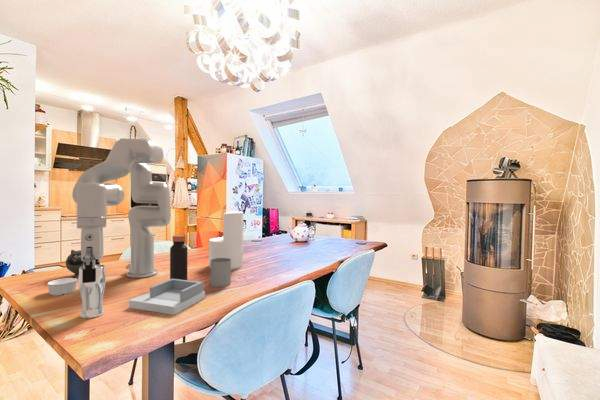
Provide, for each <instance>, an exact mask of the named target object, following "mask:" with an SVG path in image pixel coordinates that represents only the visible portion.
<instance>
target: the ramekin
mask: <svg viewBox="0 0 600 400" xmlns="http://www.w3.org/2000/svg"><path fill="white" fill-rule="evenodd" d="M77 281H78V278H73V277H65V278H58V279H54V280H50V281H48V282H47V283H46V284H47V286H48V294H49V295H50V296H63V295H62V294H64V295H69V294H71V292H72V293H75V291H76V290H77ZM68 293H69V294H68Z"/></svg>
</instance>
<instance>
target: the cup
mask: <svg viewBox="0 0 600 400" xmlns="http://www.w3.org/2000/svg"><path fill="white" fill-rule="evenodd" d="M209 269H210V270H209V271H210V275H209V276H210V282H209V283H210V286H211V287H214V286H215V288H219V287H227V286H229V285H231V284H232V283H231V281H232V280H231V279H232V269H231V259H229V258H216V259H212V260H211V261H210V267H209Z"/></svg>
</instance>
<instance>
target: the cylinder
mask: <svg viewBox="0 0 600 400" xmlns="http://www.w3.org/2000/svg"><path fill="white" fill-rule="evenodd" d="M222 216H223V219H222V220H223V223H222V224H223V227H222V228H223V229H222V230H223V231H222V233H223V234H222V235H223V236H221V237H220V236H219V237H213V238H209V240H208V252H209V253H208V268H210V261H211V260H212V259H216V258H229V259H231V270H237V269H239V268H242V267H243V266H244V265H243V264H244V211H239V210H237V211H235V210H233V211H232V210H229V211H227V212H223V215H222Z"/></svg>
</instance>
